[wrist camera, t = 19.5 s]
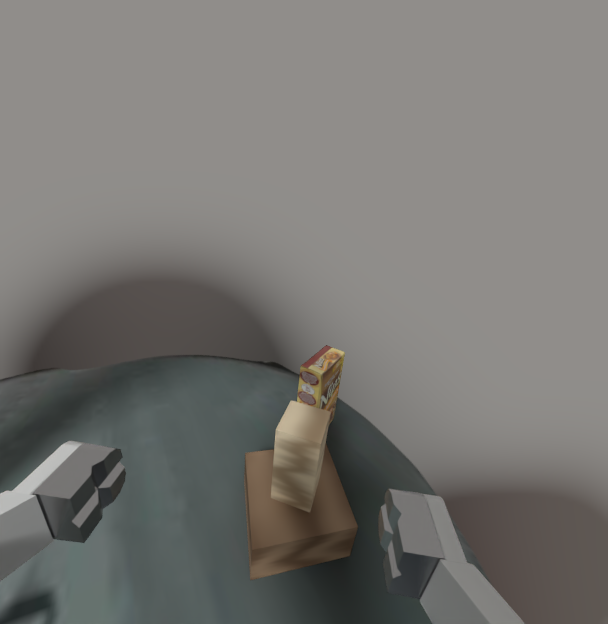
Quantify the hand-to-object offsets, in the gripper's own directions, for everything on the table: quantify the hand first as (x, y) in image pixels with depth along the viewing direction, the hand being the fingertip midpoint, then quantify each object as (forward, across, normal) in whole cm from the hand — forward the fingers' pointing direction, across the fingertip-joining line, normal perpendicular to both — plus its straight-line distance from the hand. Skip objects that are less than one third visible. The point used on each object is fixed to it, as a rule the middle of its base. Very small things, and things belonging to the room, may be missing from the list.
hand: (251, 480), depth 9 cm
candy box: (+35, -4, +32) cm, 48 cm away
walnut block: (+19, -2, +32) cm, 38 cm away
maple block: (+19, -2, +26) cm, 33 cm away
